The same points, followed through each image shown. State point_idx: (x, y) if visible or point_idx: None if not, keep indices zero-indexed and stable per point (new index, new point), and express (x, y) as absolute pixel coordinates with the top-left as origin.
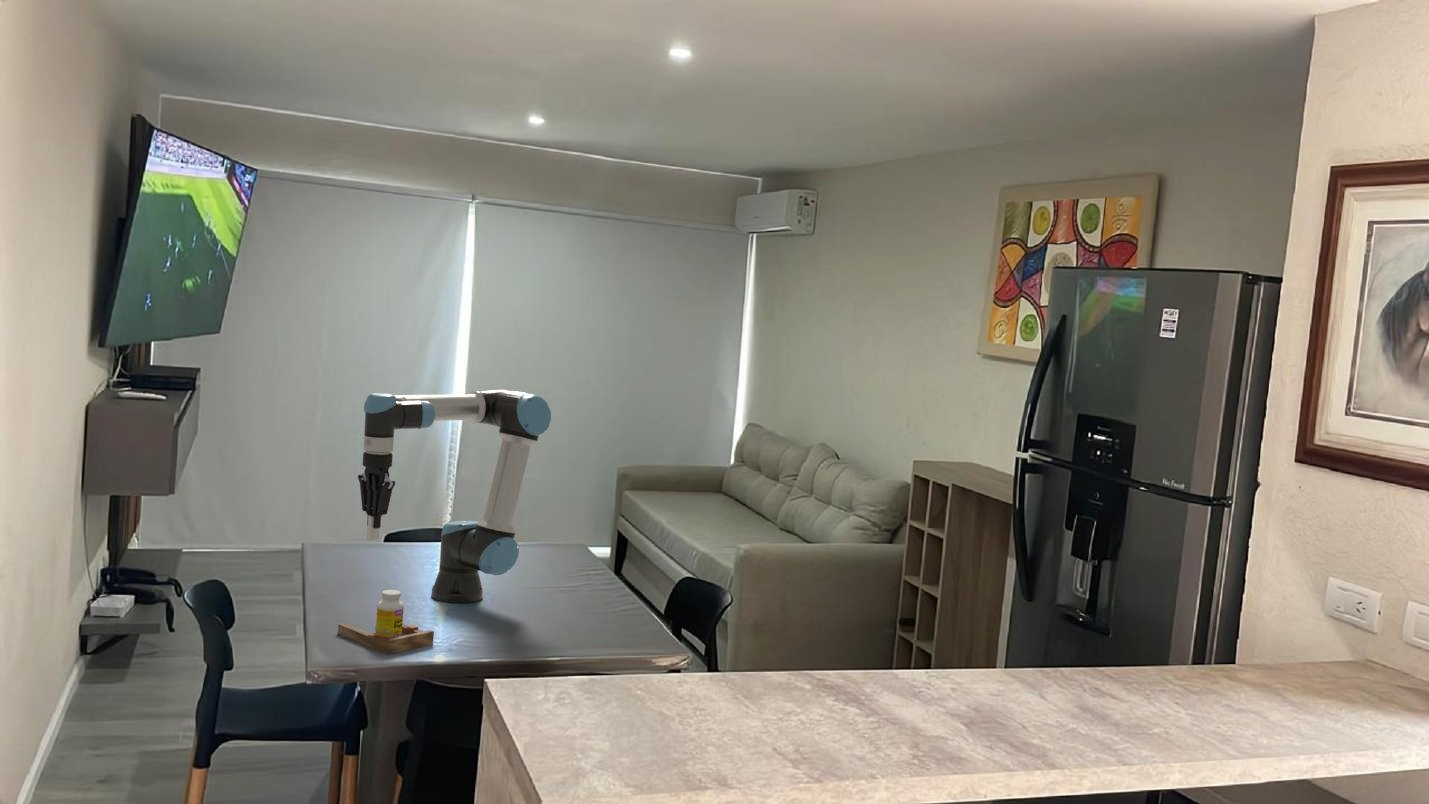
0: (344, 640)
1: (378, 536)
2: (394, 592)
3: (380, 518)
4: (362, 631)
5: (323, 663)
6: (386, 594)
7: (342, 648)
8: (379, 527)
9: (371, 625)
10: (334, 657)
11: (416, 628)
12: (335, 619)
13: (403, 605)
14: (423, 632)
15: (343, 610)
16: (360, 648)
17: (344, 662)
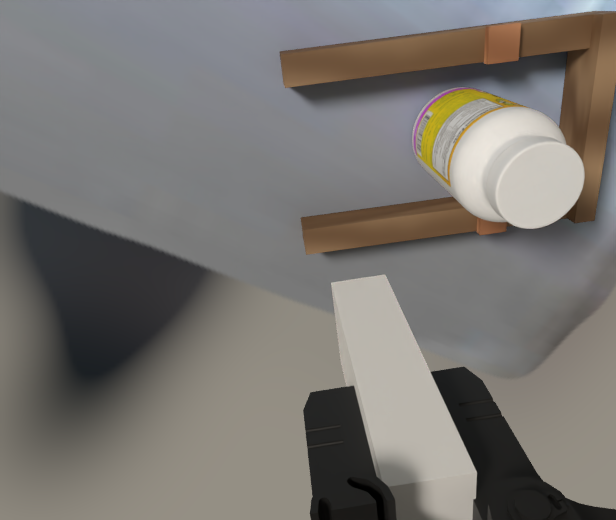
0: (377, 252)
1: (391, 294)
2: (553, 176)
3: (530, 467)
4: (421, 223)
5: (511, 369)
6: (550, 223)
7: (439, 287)
8: (469, 377)
9: (269, 95)
10: (490, 332)
11: (517, 32)
12: (143, 177)
13: (552, 120)
14: (607, 60)
15: (26, 93)
16: (469, 246)
17: (539, 328)
